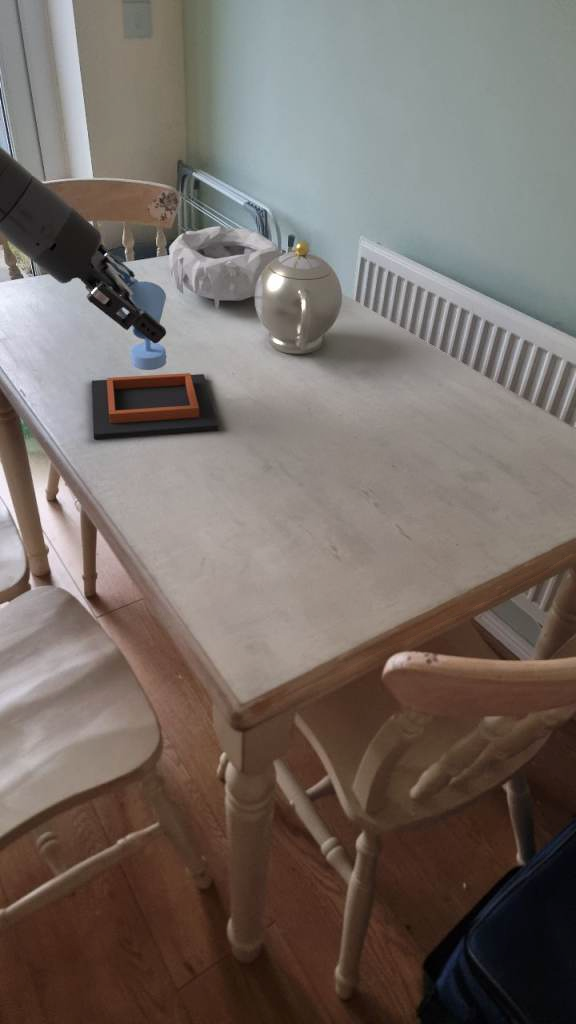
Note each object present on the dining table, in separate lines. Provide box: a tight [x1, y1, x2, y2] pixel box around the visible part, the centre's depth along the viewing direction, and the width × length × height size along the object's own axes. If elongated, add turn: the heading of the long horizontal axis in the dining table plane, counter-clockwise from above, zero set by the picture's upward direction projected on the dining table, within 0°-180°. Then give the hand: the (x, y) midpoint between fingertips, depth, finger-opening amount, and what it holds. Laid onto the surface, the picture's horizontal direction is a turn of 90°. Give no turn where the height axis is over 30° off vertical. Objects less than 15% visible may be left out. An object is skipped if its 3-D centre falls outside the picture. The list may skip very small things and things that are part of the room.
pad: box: [91, 372, 219, 440], centre depth 95 cm, size 16×14×2 cm
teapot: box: [254, 241, 343, 355], centre depth 107 cm, size 18×14×16 cm
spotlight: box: [129, 281, 167, 371], centre depth 88 cm, size 5×10×7 cm
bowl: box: [168, 225, 283, 309], centre depth 123 cm, size 21×20×10 cm
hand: (158, 324), depth 88 cm, fingers closed on spotlight, 7 cm apart
